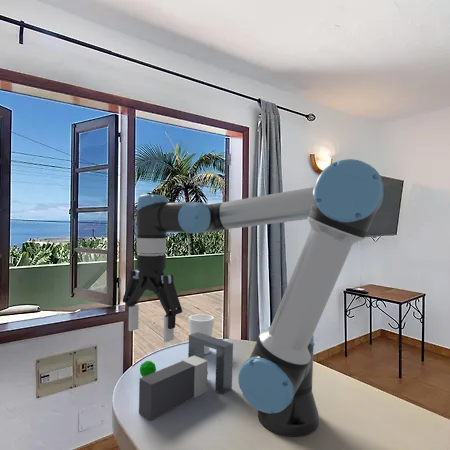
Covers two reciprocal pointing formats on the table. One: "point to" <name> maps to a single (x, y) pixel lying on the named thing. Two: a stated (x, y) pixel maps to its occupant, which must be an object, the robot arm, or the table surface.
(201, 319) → the foam cup
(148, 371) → the polyhedron
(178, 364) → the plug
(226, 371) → the grey arch
